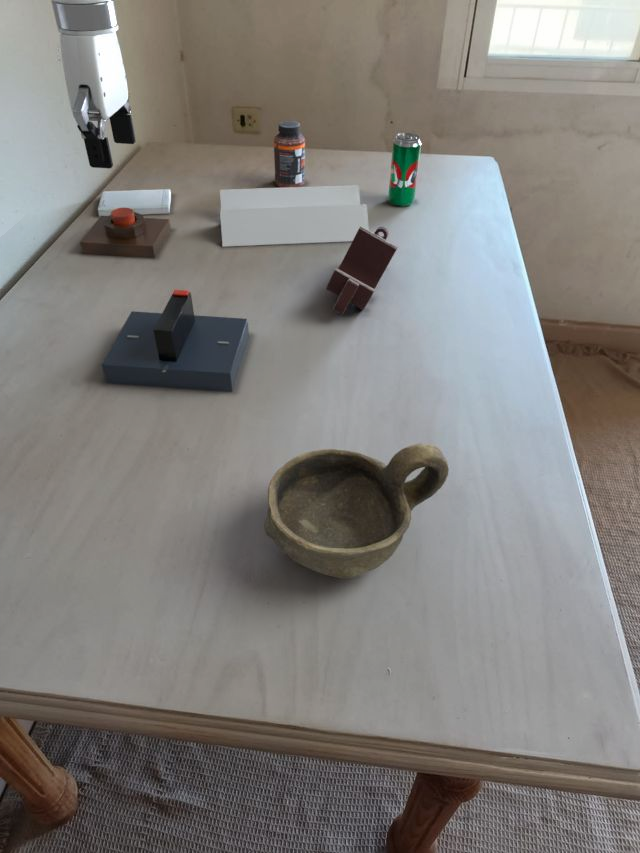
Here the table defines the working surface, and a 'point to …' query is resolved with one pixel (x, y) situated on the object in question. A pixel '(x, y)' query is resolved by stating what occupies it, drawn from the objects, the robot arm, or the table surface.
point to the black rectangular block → (174, 326)
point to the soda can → (404, 169)
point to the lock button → (123, 216)
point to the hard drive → (136, 201)
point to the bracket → (361, 269)
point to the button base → (126, 237)
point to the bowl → (349, 506)
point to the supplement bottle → (289, 155)
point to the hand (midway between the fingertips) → (114, 154)
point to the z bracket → (291, 215)
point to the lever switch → (198, 361)
